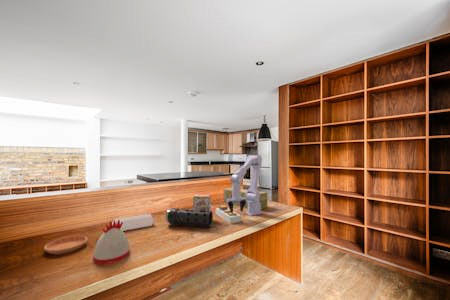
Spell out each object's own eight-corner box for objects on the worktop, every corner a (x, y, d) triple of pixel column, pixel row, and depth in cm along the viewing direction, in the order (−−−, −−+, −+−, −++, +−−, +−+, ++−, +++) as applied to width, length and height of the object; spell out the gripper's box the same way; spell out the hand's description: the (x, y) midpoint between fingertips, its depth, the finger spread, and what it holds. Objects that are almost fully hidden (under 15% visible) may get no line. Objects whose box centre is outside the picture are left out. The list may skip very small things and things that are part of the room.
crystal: (152, 215, 130) (110, 222, 118) (154, 212, 125) (110, 219, 112) (153, 227, 127) (110, 235, 114) (155, 224, 122) (110, 232, 109)
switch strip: (225, 212, 151) (225, 207, 151) (240, 221, 130) (240, 215, 130) (215, 213, 148) (215, 208, 148) (230, 223, 126) (230, 217, 126)
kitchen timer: (134, 254, 87) (135, 220, 87) (99, 267, 77) (100, 229, 77) (122, 245, 96) (122, 214, 97) (89, 255, 86) (89, 221, 86)
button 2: (233, 216, 135) (233, 211, 135) (236, 218, 131) (236, 213, 132) (227, 217, 133) (227, 212, 134) (230, 219, 130) (230, 214, 130)
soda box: (267, 207, 165) (267, 192, 165) (258, 211, 156) (258, 194, 156) (232, 200, 194) (232, 186, 194) (222, 202, 184) (222, 188, 185)
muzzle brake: (208, 231, 114) (208, 213, 115) (164, 227, 120) (164, 210, 120) (212, 225, 124) (213, 208, 124) (171, 222, 129) (171, 206, 129)
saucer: (81, 238, 104) (82, 232, 105) (92, 247, 94) (92, 241, 94) (41, 249, 92) (41, 243, 92) (47, 261, 82) (48, 253, 82)
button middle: (228, 213, 142) (228, 209, 142) (231, 215, 138) (231, 210, 138) (223, 214, 140) (223, 210, 140) (226, 216, 136) (226, 211, 136)
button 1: (224, 209, 148) (224, 205, 148) (227, 210, 144) (227, 206, 144) (219, 210, 146) (219, 205, 146) (221, 211, 142) (221, 207, 142)
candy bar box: (192, 220, 132) (193, 196, 132) (194, 218, 137) (194, 194, 137) (209, 221, 131) (209, 196, 131) (210, 218, 136) (210, 195, 136)
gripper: (229, 193, 128) (229, 214, 127) (248, 192, 134) (248, 212, 134) (225, 192, 134) (225, 212, 134) (243, 190, 140) (243, 209, 140)
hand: (236, 211), depth 134 cm, fingers open, 7 cm apart
